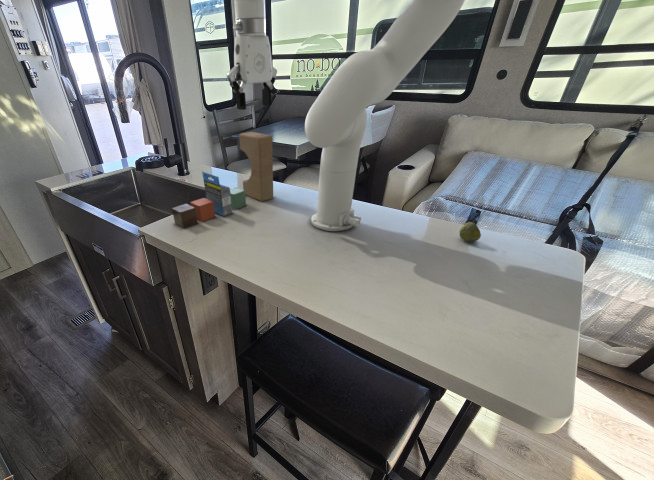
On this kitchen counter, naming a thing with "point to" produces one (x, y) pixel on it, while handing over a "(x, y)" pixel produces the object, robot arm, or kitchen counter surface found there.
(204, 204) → the block
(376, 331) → the kitchen counter surface
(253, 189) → the decorative block
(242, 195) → the block
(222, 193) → the tape cartridge
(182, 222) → the block
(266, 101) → the robot arm
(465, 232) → the lime
